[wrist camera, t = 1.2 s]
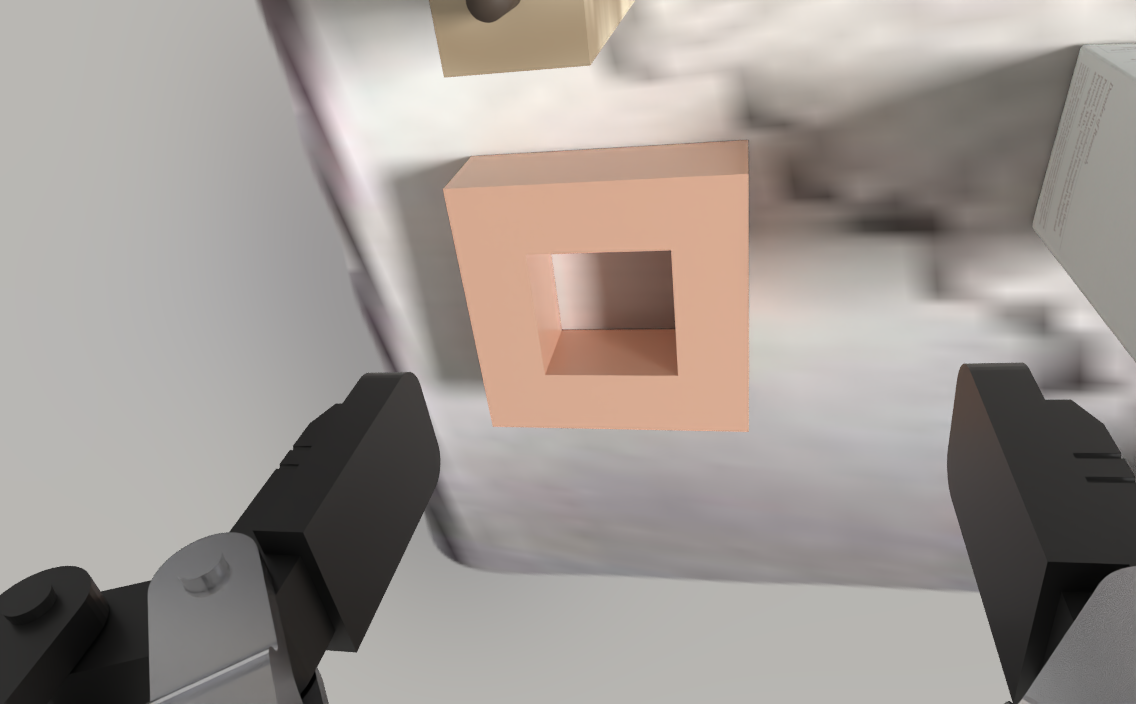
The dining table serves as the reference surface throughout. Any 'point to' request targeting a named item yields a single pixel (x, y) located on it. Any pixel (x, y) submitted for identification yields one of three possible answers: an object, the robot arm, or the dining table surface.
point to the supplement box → (1096, 186)
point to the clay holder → (608, 224)
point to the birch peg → (522, 33)
